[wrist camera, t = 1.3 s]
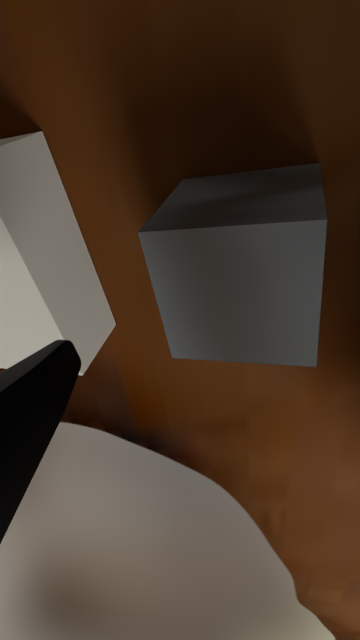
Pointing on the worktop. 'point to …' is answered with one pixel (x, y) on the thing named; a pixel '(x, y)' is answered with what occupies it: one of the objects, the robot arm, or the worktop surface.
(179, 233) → the charcoal cube
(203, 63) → the worktop surface
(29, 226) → the cream base block
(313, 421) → the worktop surface
